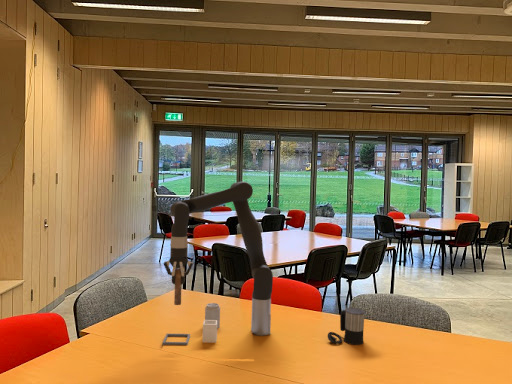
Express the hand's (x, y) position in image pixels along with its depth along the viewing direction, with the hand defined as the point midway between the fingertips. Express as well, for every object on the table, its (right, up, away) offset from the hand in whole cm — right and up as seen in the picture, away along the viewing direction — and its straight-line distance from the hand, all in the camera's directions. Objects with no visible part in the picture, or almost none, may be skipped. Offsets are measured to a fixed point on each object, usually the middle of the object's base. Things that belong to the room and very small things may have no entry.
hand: (178, 283), depth 200 cm
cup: (+14, -27, +2) cm, 31 cm away
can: (+13, -27, +20) cm, 36 cm away
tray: (-1, -27, +1) cm, 27 cm away
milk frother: (+78, -29, +8) cm, 83 cm away
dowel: (0, -9, 0) cm, 9 cm away
